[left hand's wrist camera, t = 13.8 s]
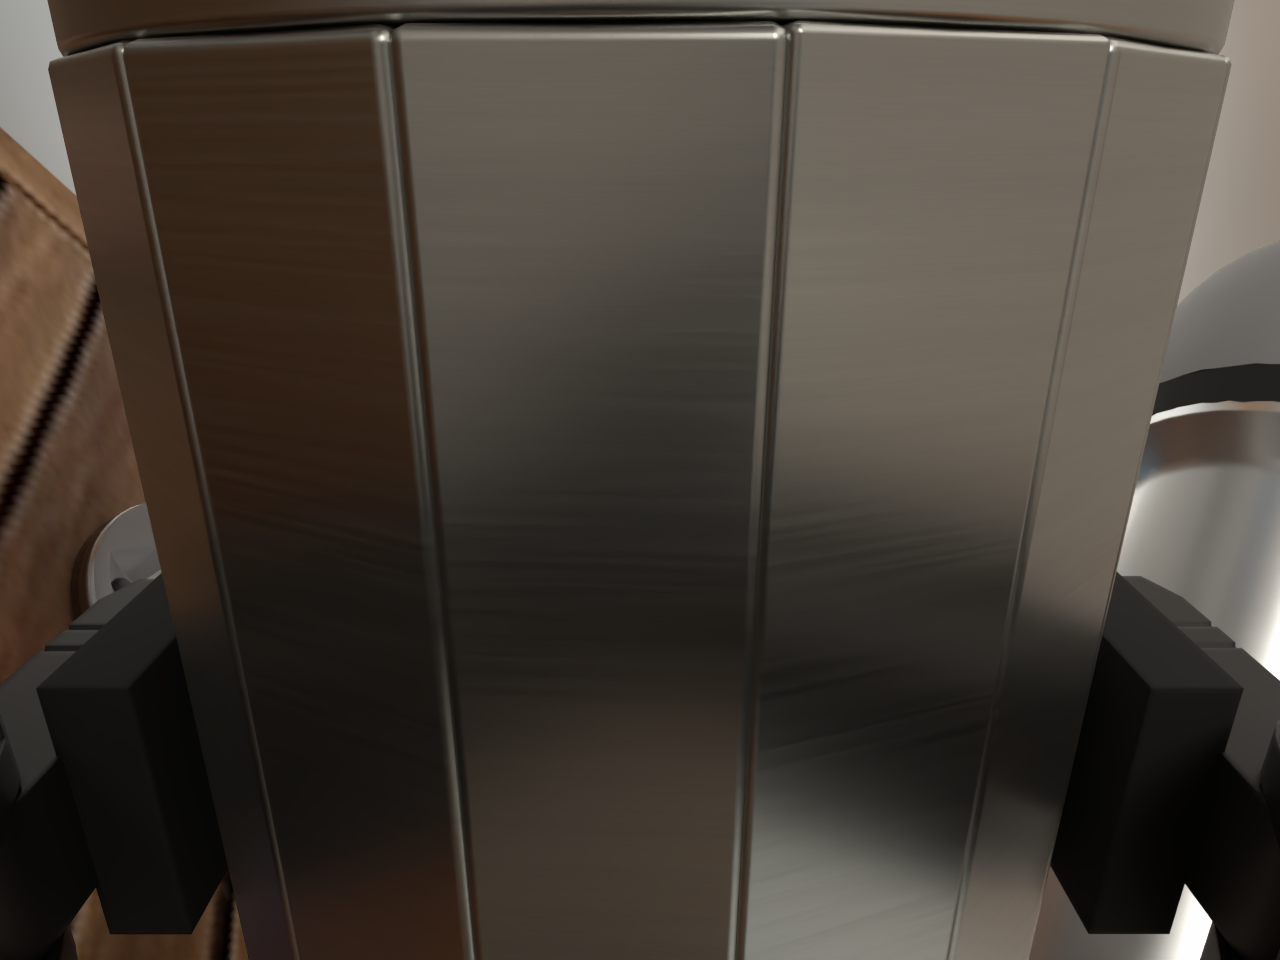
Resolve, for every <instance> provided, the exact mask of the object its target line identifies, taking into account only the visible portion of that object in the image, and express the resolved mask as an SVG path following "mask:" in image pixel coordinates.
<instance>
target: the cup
mask: <svg viewBox="0 0 1280 960" xmlns="http://www.w3.org/2000/svg"><path fill="white" fill-rule="evenodd" d="M48 4H49V9H50V13H51V18H52V23H53V27H54V32H55V36H56V41H57V45H58V49H59V50H60V52H61V54H62V55H63V57H61V58H58V59H55V60H53V61H50V64H49V68H48V71H49V75H50V79H51V84H52V88H53V92H54V97H55V101H56V106H57V111H58V115H59V119H60V124H61V128H62V133H63V137H64V142H65V146H66V151H67V155H68V159H69V164H70V168H71V173H72V177H73V182H74V186H75V190H76V195H77V199H78V204H79V208H80V213H81V217H82V221H83V226H84V230H85V235H86V239H87V244H88V248H89V252H90V257H91V261H92V266H93V270H94V275H95V279H96V284H97V288H98V292H99V297H100V301H101V306H102V310H103V315H104V319H105V323H106V328H107V332H108V337H109V341H110V346H111V350H112V354H113V359H114V363H115V368H116V372H117V377H118V381H119V386H120V390H121V394H122V399H123V403H124V408H125V412H126V417H127V421H128V425H129V430H130V434H131V439H132V443H133V448H134V452H135V456H136V461H137V465H138V470H139V474H140V479H141V483H142V487H143V492H144V496H145V501H146V505H147V510H148V514H149V519H150V523H151V527H152V532H153V536H154V541H155V545H156V550H157V554H158V558H159V563H160V567H161V572H162V576H163V581H164V585H165V589H166V594H167V598H168V603H169V607H170V612H171V616H172V621H173V625H174V629H175V634H176V638H177V643H178V647H179V652H180V656H181V660H182V665H183V669H184V674H185V678H186V683H187V687H188V691H189V696H190V700H191V705H192V709H193V714H194V718H195V722H196V727H197V731H198V736H199V740H200V745H201V749H202V754H203V758H204V762H205V767H206V771H207V776H208V780H209V785H210V789H211V793H212V798H213V802H214V807H215V811H216V816H217V820H218V824H219V829H220V833H221V838H222V842H223V847H224V851H225V855H226V860H227V864H228V869H229V873H230V878H231V882H232V887H233V891H234V895H235V900H236V904H237V909H238V913H239V918H240V922H241V926H242V931H243V935H244V940H245V944H246V949H247V953H248V957H249V960H1029V956H1030V952H1031V947H1032V943H1033V938H1034V934H1035V930H1036V925H1037V921H1038V916H1039V912H1040V907H1041V903H1042V899H1043V894H1044V890H1045V885H1046V881H1047V877H1048V872H1049V868H1050V863H1051V859H1052V854H1053V850H1054V846H1055V841H1056V837H1057V832H1058V828H1059V824H1060V819H1061V815H1062V810H1063V806H1064V802H1065V797H1066V793H1067V788H1068V784H1069V779H1070V775H1071V771H1072V766H1073V762H1074V757H1075V753H1076V749H1077V744H1078V740H1079V735H1080V731H1081V726H1082V722H1083V718H1084V713H1085V709H1086V704H1087V700H1088V696H1089V691H1090V687H1091V682H1092V678H1093V673H1094V669H1095V665H1096V660H1097V656H1098V651H1099V647H1100V643H1101V638H1102V634H1103V629H1104V625H1105V621H1106V616H1107V612H1108V607H1109V603H1110V598H1111V594H1112V590H1113V585H1114V581H1115V576H1116V572H1117V568H1118V563H1119V559H1120V554H1121V550H1122V545H1123V541H1124V537H1125V532H1126V528H1127V523H1128V519H1129V515H1130V510H1131V506H1132V501H1133V497H1134V492H1135V488H1136V484H1137V479H1138V475H1139V470H1140V466H1141V462H1142V457H1143V453H1144V448H1145V444H1146V440H1147V435H1148V431H1149V426H1150V422H1151V417H1152V413H1153V409H1154V404H1155V400H1156V395H1157V391H1158V387H1159V382H1160V378H1161V373H1162V369H1163V364H1164V360H1165V356H1166V351H1167V347H1168V342H1169V338H1170V334H1171V329H1172V325H1173V320H1174V316H1175V311H1176V307H1177V303H1178V298H1179V294H1180V289H1181V285H1182V281H1183V276H1184V271H1185V267H1186V263H1187V258H1188V254H1189V250H1190V245H1191V241H1192V236H1193V232H1194V228H1195V223H1196V219H1197V214H1198V210H1199V205H1200V201H1201V196H1202V192H1203V188H1204V183H1205V179H1206V175H1207V170H1208V166H1209V161H1210V157H1211V152H1212V148H1213V144H1214V139H1215V135H1216V130H1217V126H1218V122H1219V117H1220V113H1221V108H1222V104H1223V100H1224V95H1225V91H1226V86H1227V82H1228V77H1229V73H1230V69H1231V61H1230V58H1229V57H1226V56H1224V55H1218V54H1219V53H1220V51H1221V49H1222V48H1223V46H1224V45H1225V40H1226V36H1227V31H1228V27H1229V22H1230V18H1231V13H1232V9H1233V4H1234V0H48Z"/></svg>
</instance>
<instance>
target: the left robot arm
mask: <svg viewBox="0 0 1280 960" xmlns="http://www.w3.org/2000/svg"><path fill="white" fill-rule="evenodd" d="M1235 644H1236V642H1234V641H1233V640H1232V639H1231V638H1230V637H1229V636H1227V635H1226V634H1225V633H1224V632H1223V631H1222V630H1220V629H1219V628H1218V627H1212V625H1211V621H1210V620H1209V619H1207V618H1206V617H1205V616H1204V615H1203V614H1202V613H1200V612H1199V611H1198V610H1197V609H1196V608H1195V607H1193V606H1192V605H1191V604H1190V603H1189V602H1188V601H1186V600H1185V599H1184V598H1183V597H1181V596H1179V595H1177V594H1175V593H1173V592H1171V591H1170V590H1168V589H1166V588H1164V587H1162V586H1160V585H1158V584H1156V583H1154V582H1152V581H1150V580H1148V579H1146V578H1144V577H1142V576H1121V575H1120V574H1119V573H1118V572H1116V576H1115V581H1114V585H1113V590H1112V594H1111V598H1110V603H1109V607H1108V612H1107V616H1106V621H1105V625H1104V629H1103V634H1102V638H1101V643H1100V647H1099V651H1098V656H1097V660H1096V665H1095V669H1094V673H1093V678H1092V682H1091V687H1090V691H1089V696H1088V700H1087V704H1086V709H1085V713H1084V718H1083V722H1082V726H1081V731H1080V735H1079V740H1078V744H1077V749H1076V753H1075V757H1074V762H1073V766H1072V771H1071V775H1070V779H1069V784H1068V788H1067V793H1066V797H1065V802H1064V806H1063V810H1062V815H1061V819H1060V824H1059V828H1058V832H1057V837H1056V841H1055V846H1054V850H1053V854H1052V859H1051V863H1050V866H1051V868H1052V870H1053V872H1054V873H1055V875H1056V877H1057V879H1058V881H1059V882H1060V884H1061V886H1062V888H1063V889H1064V891H1065V893H1066V895H1067V897H1068V898H1069V900H1070V902H1071V904H1072V906H1073V907H1074V909H1075V911H1076V913H1077V915H1078V916H1079V918H1080V920H1081V922H1082V923H1083V925H1084V927H1085V929H1086V931H1087V932H1088V934H1170V931H1171V928H1172V925H1173V921H1174V918H1175V915H1176V911H1177V908H1178V905H1179V901H1180V898H1181V895H1182V891H1183V888H1184V885H1186V886H1187V887H1188V889H1189V890H1190V891H1191V893H1192V894H1193V896H1194V897H1195V898H1196V900H1197V901H1198V902H1199V904H1200V905H1201V907H1202V908H1203V909H1204V911H1205V912H1206V913H1207V915H1208V916H1209V918H1210V919H1211V920H1212V923H1211V926H1210V929H1209V933H1208V936H1207V939H1206V942H1205V945H1204V948H1203V951H1202V954H1201V957H1200V960H1280V680H1279V679H1278V678H1276V677H1275V676H1274V675H1273V674H1272V673H1271V672H1269V671H1268V670H1267V669H1266V668H1265V667H1264V666H1262V665H1261V664H1260V663H1259V662H1258V661H1257V660H1255V659H1254V658H1253V657H1252V656H1251V655H1250V654H1248V653H1247V652H1246V651H1245V650H1244V649H1243V648H1236V645H1235ZM227 869H228V864H227V860H226V855H225V851H224V847H223V842H222V838H221V833H220V829H219V824H218V820H217V816H216V811H215V807H214V802H213V798H212V793H211V789H210V785H209V780H208V776H207V771H206V767H205V762H204V758H203V754H202V749H201V745H200V740H199V736H198V731H197V727H196V722H195V718H194V714H193V709H192V705H191V700H190V696H189V691H188V687H187V683H186V678H185V674H184V669H183V665H182V660H181V656H180V652H179V647H178V643H177V638H176V634H175V629H174V625H173V621H172V616H171V612H170V607H169V603H168V598H167V594H166V589H165V585H164V581H163V576H162V573H161V574H160V575H158V576H157V577H156V578H155V579H139V580H137V581H135V582H133V583H131V584H129V585H127V586H125V587H123V588H121V589H119V590H117V591H115V592H113V593H111V594H109V595H107V596H105V597H103V598H101V599H100V600H98V601H97V602H95V603H94V604H93V605H92V606H91V607H90V608H89V609H87V610H86V611H85V612H84V613H83V614H82V615H80V616H79V617H78V618H77V619H76V620H75V621H73V622H72V623H71V624H70V625H69V630H63V631H62V632H61V633H60V634H58V635H57V636H56V637H55V638H54V639H53V640H51V641H50V642H49V643H48V644H47V645H46V646H45V651H39V652H38V653H36V654H35V655H34V656H33V657H32V658H31V659H29V660H28V661H27V662H26V663H25V664H24V665H23V666H21V667H20V668H19V669H18V670H17V671H16V672H14V673H13V674H12V675H11V676H10V677H9V678H7V679H6V680H5V681H4V682H3V683H2V684H1V685H0V960H78V959H77V952H76V945H75V942H74V939H73V936H72V933H71V929H70V926H69V924H70V922H71V921H72V920H73V918H74V917H75V915H76V914H77V913H78V911H79V910H80V908H81V907H82V906H83V904H84V903H85V902H86V900H87V899H88V897H89V896H90V895H91V893H92V892H93V890H94V889H95V888H96V889H97V892H98V896H99V899H100V902H101V906H102V909H103V912H104V915H105V919H106V922H107V925H108V929H109V932H110V934H192V932H193V930H194V928H195V927H196V925H197V923H198V921H199V919H200V918H201V916H202V914H203V912H204V911H205V909H206V907H207V905H208V903H209V902H210V900H211V898H212V896H213V894H214V893H215V891H216V889H217V887H218V886H219V884H220V882H221V880H222V878H223V877H224V875H225V873H226V871H227Z"/></svg>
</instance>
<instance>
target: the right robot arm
mask: <svg viewBox="0 0 1280 960" xmlns="http://www.w3.org/2000/svg"><path fill="white" fill-rule="evenodd" d="M1117 572H1118V573H1119V574H1120V575H1121V576H1142V577H1144V578H1146V579H1148V580H1150V581H1152V582H1154V583H1156V584H1158V585H1160V586H1162V587H1164V588H1166V589H1168V590H1170V591H1171V592H1173V593H1175V594H1177V595H1179V596H1181V597H1183V598H1184V599H1185V600H1186V601H1188V602H1189V603H1190V604H1191V605H1192V606H1193V607H1195V608H1196V609H1197V610H1198V611H1199V612H1200V613H1202V614H1203V615H1204V616H1205V617H1206V618H1207V619H1209V620H1210V621H1211V625H1212V627H1218V628H1219V629H1220V630H1222V631H1223V632H1224V633H1225V634H1226V635H1227V636H1229V637H1230V638H1231V639H1232V640H1233V641H1234V642H1236V644H1235V645H1236V648H1243V649H1244V650H1245V651H1246V652H1247V653H1248V654H1250V655H1251V656H1252V657H1253V658H1254V659H1255V660H1257V661H1258V662H1259V663H1260V664H1261V665H1262V666H1264V667H1265V668H1266V669H1267V670H1268V671H1269V672H1271V673H1272V674H1273V675H1274V676H1275V677H1276V678H1278V679H1279V680H1280V241H1278V242H1275V243H1272V244H1270V245H1267V246H1265V247H1262V248H1260V249H1257V250H1255V251H1252V252H1250V253H1247V254H1245V255H1243V256H1242V257H1240V258H1238V259H1236V260H1235V261H1233V262H1231V263H1230V264H1228V265H1226V266H1225V267H1223V268H1221V269H1219V270H1218V271H1216V272H1214V273H1213V274H1212V275H1211V276H1209V277H1208V278H1207V279H1206V280H1205V281H1203V282H1202V283H1201V284H1200V285H1199V286H1197V287H1196V288H1195V289H1194V290H1193V291H1192V292H1190V293H1189V294H1188V295H1187V296H1186V297H1185V298H1184V299H1183V300H1182V302H1181V303H1180V304H1179V305H1178V306H1177V307H1176V311H1175V316H1174V320H1173V325H1172V329H1171V334H1170V338H1169V342H1168V347H1167V351H1166V356H1165V360H1164V364H1163V369H1162V373H1161V378H1160V382H1159V387H1158V391H1157V395H1156V400H1155V404H1154V409H1153V413H1152V417H1151V422H1150V426H1149V431H1148V435H1147V440H1146V444H1145V448H1144V453H1143V457H1142V462H1141V466H1140V470H1139V475H1138V479H1137V484H1136V488H1135V492H1134V497H1133V501H1132V506H1131V510H1130V515H1129V519H1128V523H1127V528H1126V532H1125V537H1124V541H1123V545H1122V550H1121V554H1120V559H1119V563H1118V568H1117ZM161 573H162V572H161V567H160V563H159V558H158V554H157V550H156V545H155V541H154V536H153V532H152V527H151V523H150V519H149V514H148V510H147V505H146V503H143V504H140V505H137V506H134V507H131V508H129V509H128V510H126V511H124V512H122V513H121V514H119V515H118V516H116V517H115V518H113V519H112V520H110V521H109V522H107V523H106V524H104V525H103V526H102V527H100V528H99V529H97V530H96V531H95V532H94V533H93V534H92V535H91V536H90V537H89V538H88V540H87V541H86V542H85V543H84V545H83V547H82V549H81V550H80V552H79V554H78V557H77V559H76V562H75V566H74V570H73V575H72V584H71V597H72V606H73V612H74V617H75V620H76V619H77V618H78V617H79V616H80V615H82V614H83V613H84V612H85V611H86V610H87V609H89V608H90V607H91V606H92V605H93V604H94V603H95V602H97V601H98V600H100V599H101V598H103V597H105V596H107V595H109V594H111V593H113V592H115V591H117V590H119V589H121V588H123V587H125V586H127V585H129V584H131V583H133V582H135V581H137V580H139V579H155V578H156V577H157V576H158V575H160V574H161ZM1211 923H1212V920H1211V919H1210V918H1209V916H1208V915H1207V913H1206V912H1205V911H1204V909H1203V908H1202V907H1201V905H1200V904H1199V902H1198V901H1197V900H1196V898H1195V897H1194V896H1193V894H1192V893H1191V891H1190V890H1189V889H1188V887H1187V886H1186V885H1184V888H1183V891H1182V895H1181V898H1180V901H1179V905H1178V908H1177V911H1176V915H1175V918H1174V921H1173V925H1172V928H1171V931H1170V934H1088V932H1087V931H1086V929H1085V927H1084V925H1083V923H1082V922H1081V920H1080V918H1079V916H1078V915H1077V913H1076V911H1075V909H1074V907H1073V906H1072V904H1071V902H1070V900H1069V898H1068V897H1067V895H1066V893H1065V891H1064V889H1063V888H1062V886H1061V884H1060V882H1059V881H1058V879H1057V877H1056V875H1055V873H1054V872H1053V870H1052V868H1051V866H1050V868H1049V872H1048V877H1047V881H1046V885H1045V890H1044V894H1043V899H1042V903H1041V907H1040V912H1039V916H1038V921H1037V925H1036V930H1035V934H1034V938H1033V943H1032V947H1031V952H1030V956H1029V960H1200V957H1201V954H1202V951H1203V948H1204V945H1205V942H1206V939H1207V936H1208V933H1209V929H1210V926H1211Z"/></svg>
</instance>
